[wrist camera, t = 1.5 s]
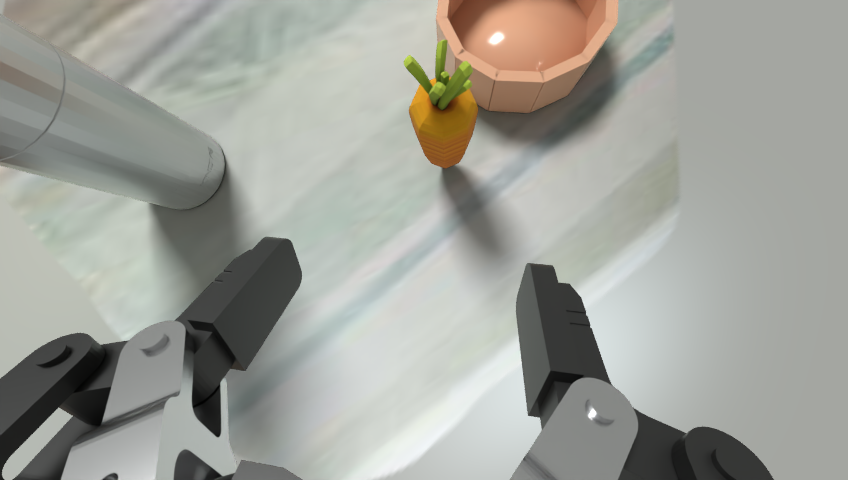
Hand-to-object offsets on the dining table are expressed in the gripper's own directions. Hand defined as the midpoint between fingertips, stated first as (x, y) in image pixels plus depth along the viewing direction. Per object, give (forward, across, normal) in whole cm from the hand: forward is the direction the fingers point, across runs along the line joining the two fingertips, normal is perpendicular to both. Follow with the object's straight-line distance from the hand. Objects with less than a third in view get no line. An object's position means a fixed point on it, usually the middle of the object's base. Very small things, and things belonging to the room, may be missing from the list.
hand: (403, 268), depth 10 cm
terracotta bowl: (+32, -6, -4) cm, 33 cm away
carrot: (+23, 0, +6) cm, 23 cm away
